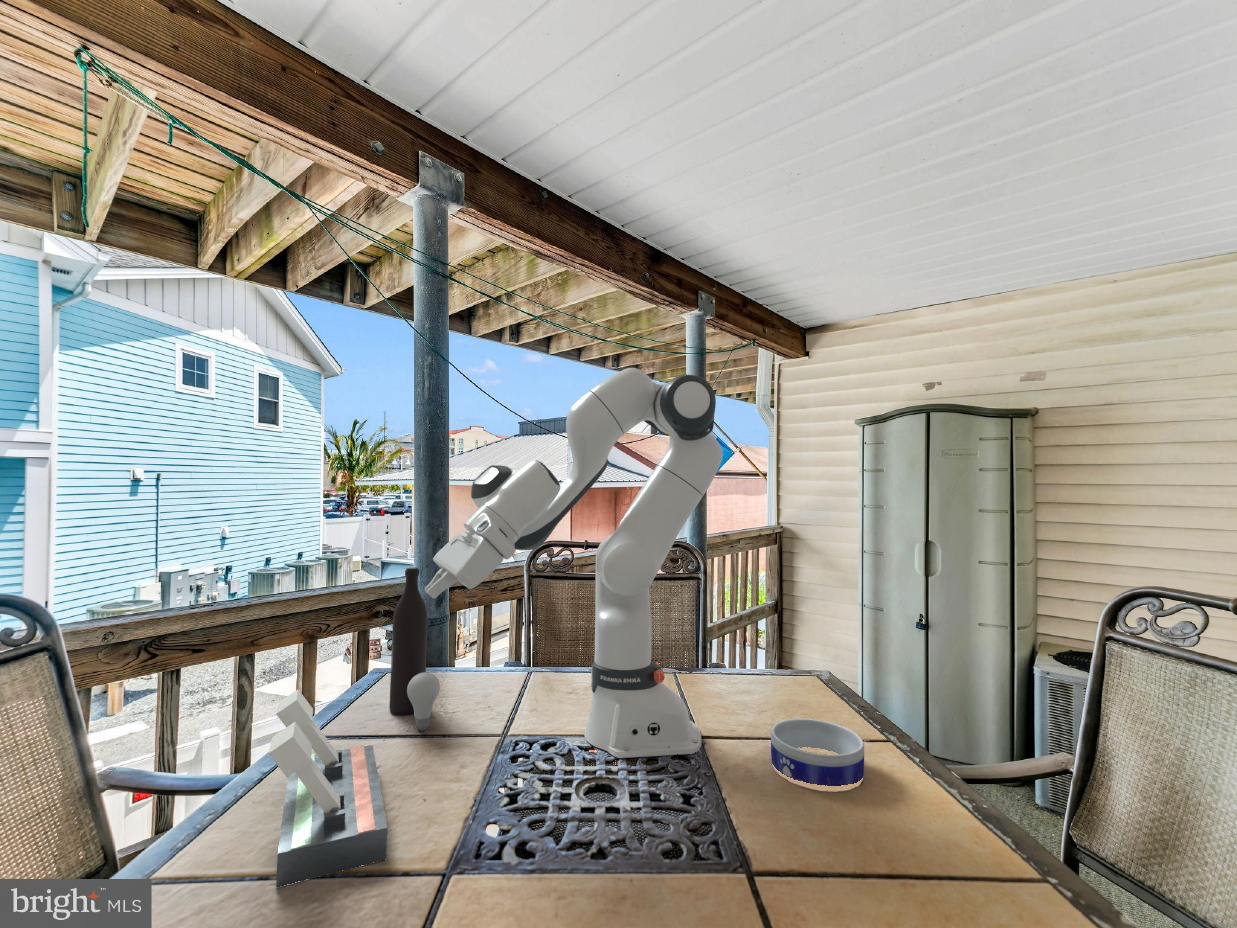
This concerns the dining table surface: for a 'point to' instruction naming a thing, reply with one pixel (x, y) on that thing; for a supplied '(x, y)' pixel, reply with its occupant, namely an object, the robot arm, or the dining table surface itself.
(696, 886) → the dining table surface
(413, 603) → the wine bottle
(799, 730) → the dog bowl
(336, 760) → the lever
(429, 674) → the lightbulb
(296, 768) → the on lever
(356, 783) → the breaker box
